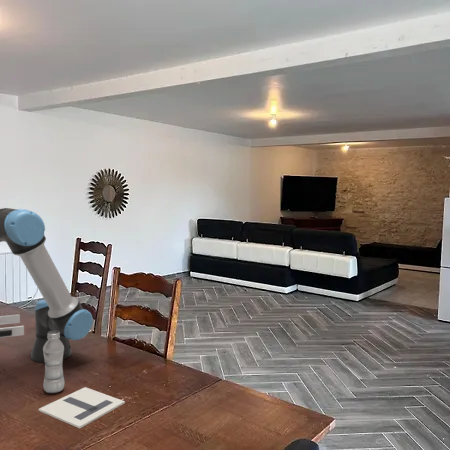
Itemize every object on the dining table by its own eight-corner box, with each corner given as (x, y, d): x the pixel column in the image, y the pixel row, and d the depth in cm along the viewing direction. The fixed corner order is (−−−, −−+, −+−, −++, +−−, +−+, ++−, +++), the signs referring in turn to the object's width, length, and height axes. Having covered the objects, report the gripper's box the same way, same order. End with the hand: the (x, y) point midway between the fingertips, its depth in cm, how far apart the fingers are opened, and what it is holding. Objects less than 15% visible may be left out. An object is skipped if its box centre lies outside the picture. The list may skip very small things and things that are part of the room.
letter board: (85, 388, 150) (85, 387, 150) (124, 403, 140) (124, 401, 140) (38, 410, 134) (38, 408, 134) (79, 428, 125) (79, 426, 125)
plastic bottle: (57, 396, 143) (57, 336, 142) (38, 394, 145) (38, 334, 143) (68, 388, 150) (68, 330, 148) (50, 386, 151) (50, 328, 149)
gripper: (-55, 332, 141) (18, 324, 152) (-61, 359, 120) (25, 348, 130) (-56, 309, 141) (18, 303, 151) (-61, 332, 119) (25, 323, 129)
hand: (21, 324), depth 141 cm, fingers open, 13 cm apart
